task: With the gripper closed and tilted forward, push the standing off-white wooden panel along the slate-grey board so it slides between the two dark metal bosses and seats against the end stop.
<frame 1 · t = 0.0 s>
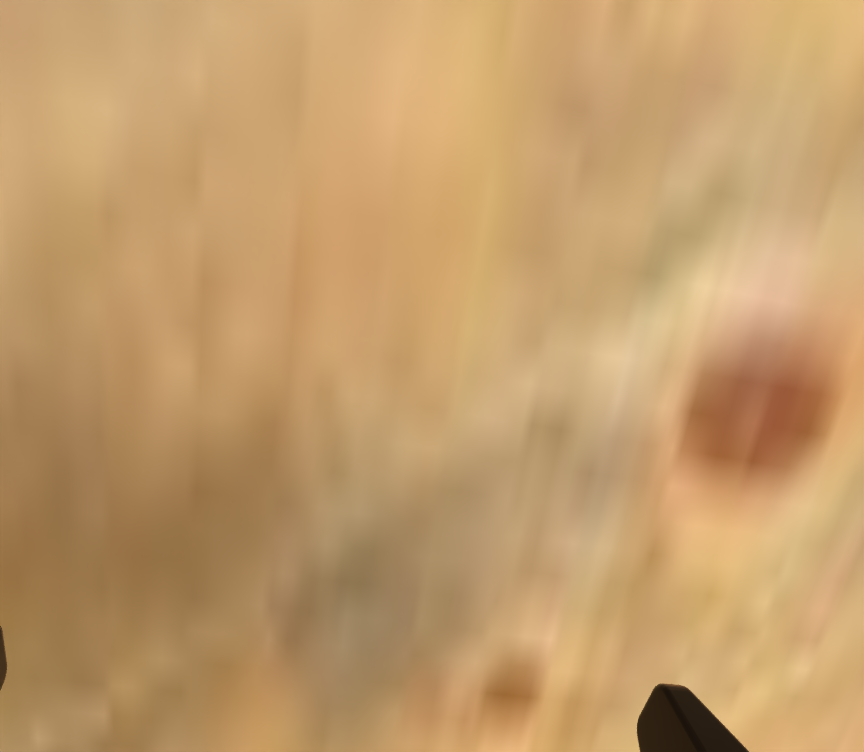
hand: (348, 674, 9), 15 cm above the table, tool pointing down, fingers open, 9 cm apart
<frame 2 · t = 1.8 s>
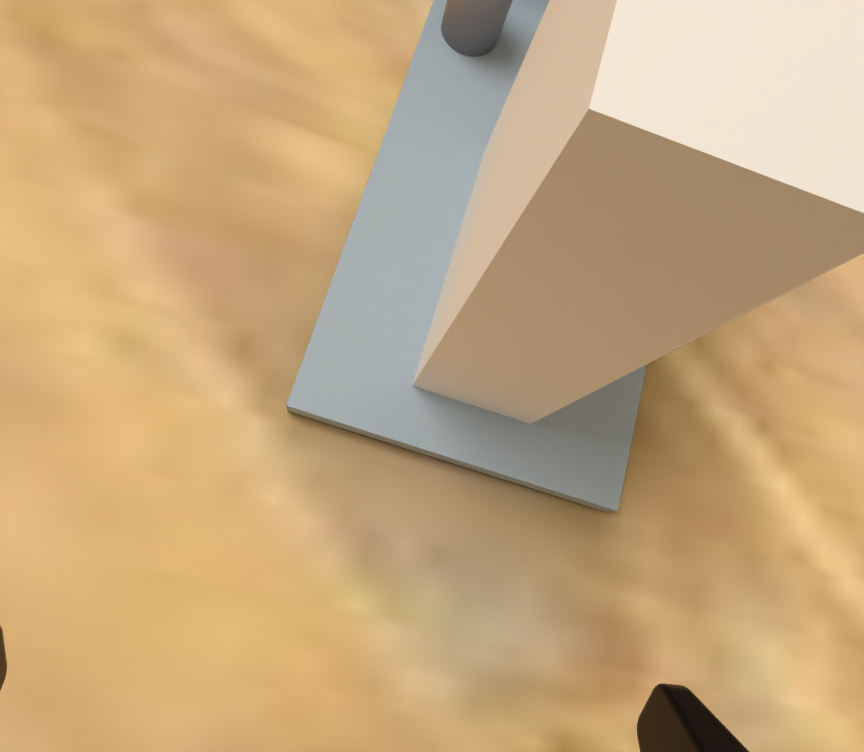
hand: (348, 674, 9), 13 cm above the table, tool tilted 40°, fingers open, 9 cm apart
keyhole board: (523, 202, 26), on the table
panel: (506, 279, 24), point 1 cm above the table, touching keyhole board
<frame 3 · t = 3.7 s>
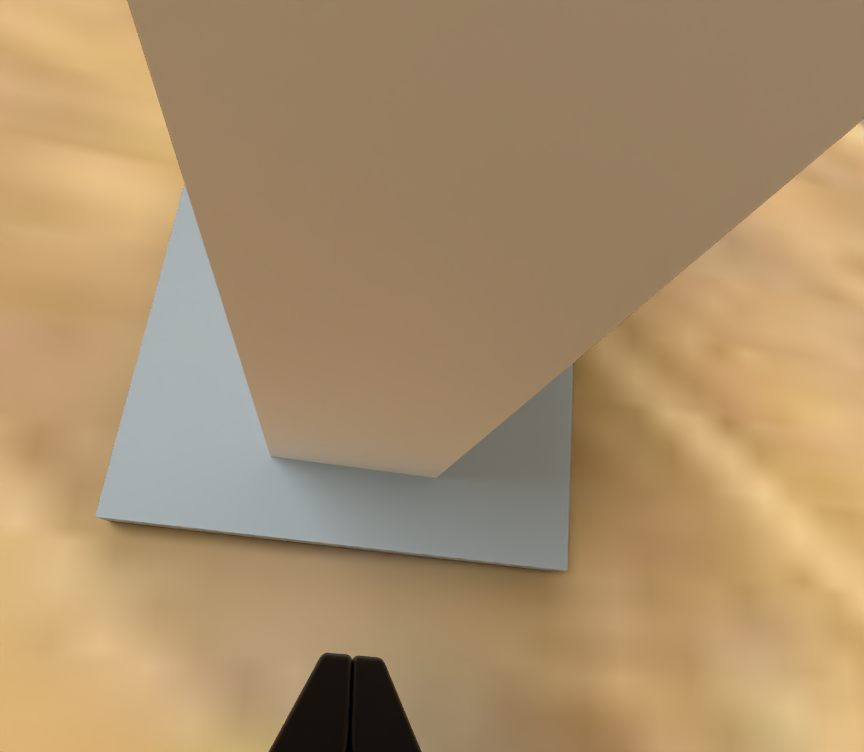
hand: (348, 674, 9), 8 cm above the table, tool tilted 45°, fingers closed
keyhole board: (390, 199, 21), on the table
panel: (378, 297, 18), point 1 cm above the table, touching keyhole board
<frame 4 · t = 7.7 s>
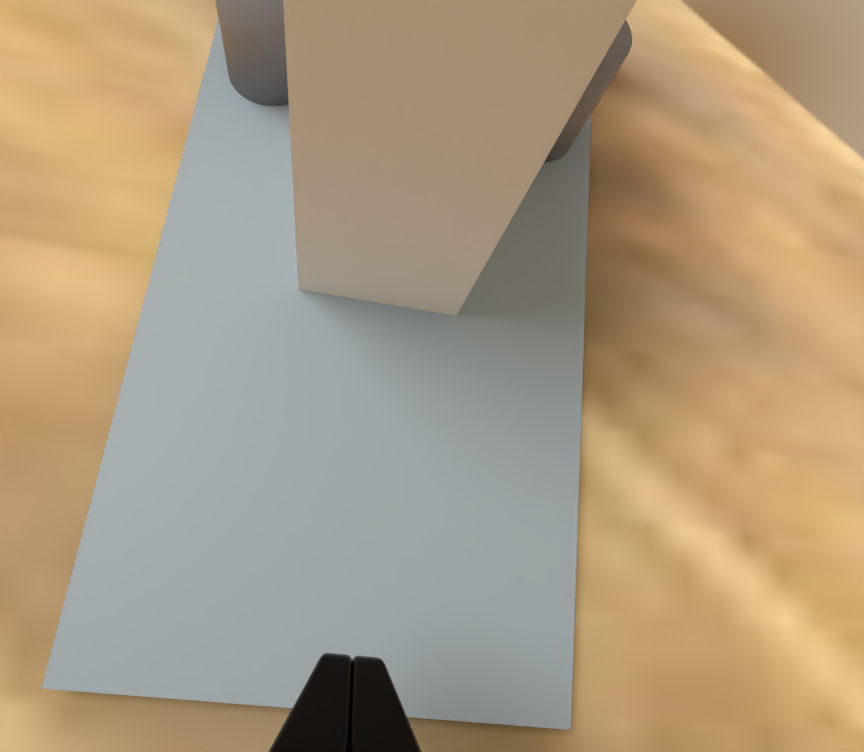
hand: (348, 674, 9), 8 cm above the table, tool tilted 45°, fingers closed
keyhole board: (379, 291, 19), on the table
panel: (399, 151, 19), point 1 cm above the table, touching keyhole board
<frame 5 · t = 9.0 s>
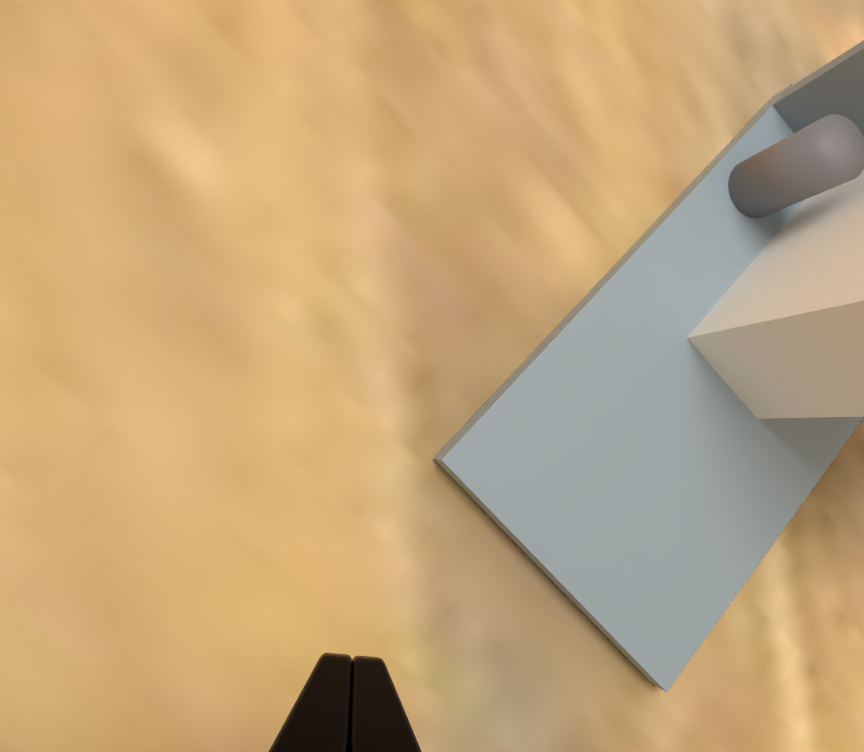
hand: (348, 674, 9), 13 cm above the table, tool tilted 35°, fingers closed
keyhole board: (716, 366, 26), on the table
panel: (791, 294, 26), point 1 cm above the table, touching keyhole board
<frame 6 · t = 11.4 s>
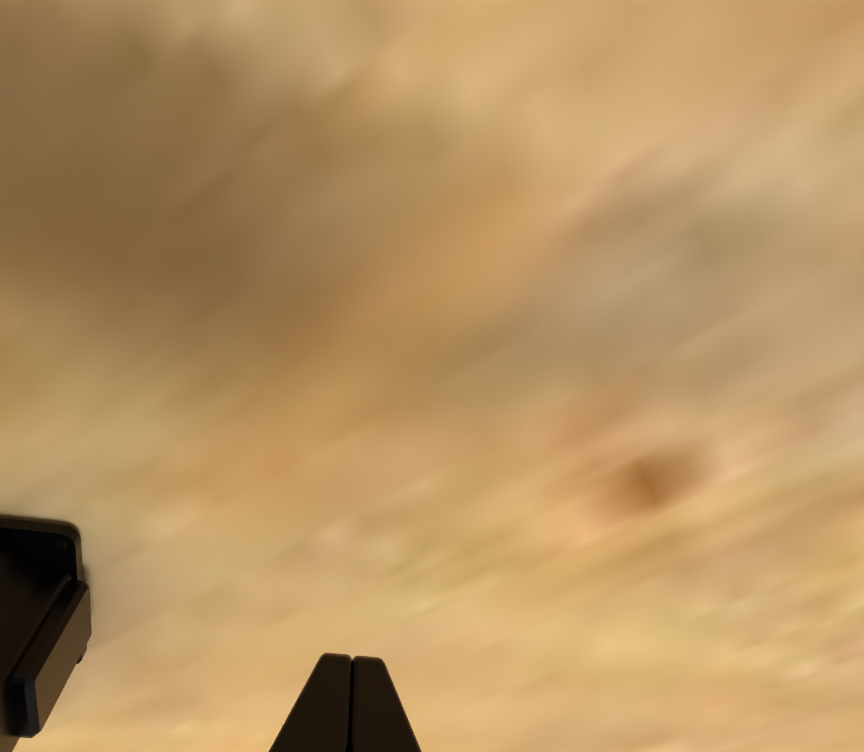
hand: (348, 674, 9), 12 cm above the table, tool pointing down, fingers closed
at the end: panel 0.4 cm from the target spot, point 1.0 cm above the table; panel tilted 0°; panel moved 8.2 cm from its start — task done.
